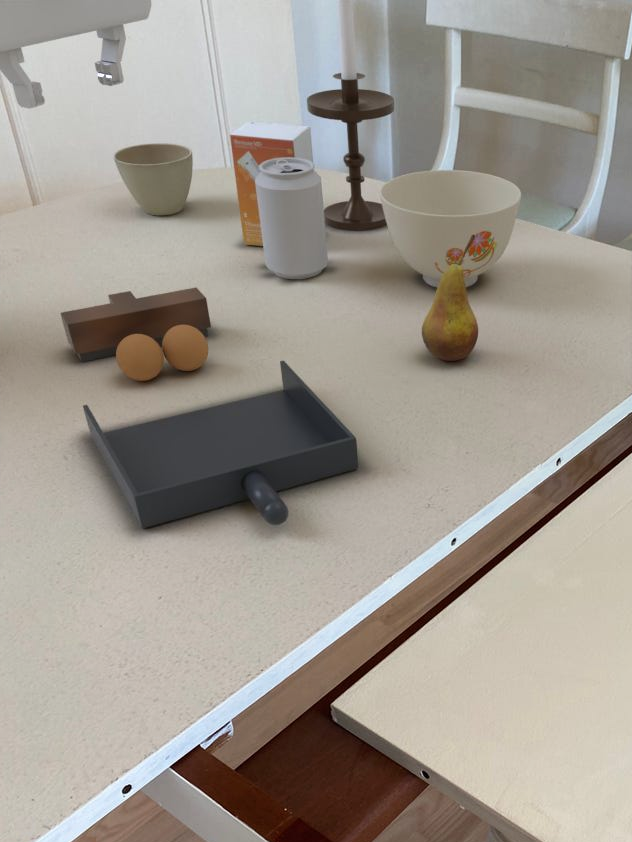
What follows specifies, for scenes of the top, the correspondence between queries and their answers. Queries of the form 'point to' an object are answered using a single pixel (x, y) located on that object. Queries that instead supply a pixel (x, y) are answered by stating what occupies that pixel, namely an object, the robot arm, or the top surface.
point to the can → (291, 217)
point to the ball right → (185, 347)
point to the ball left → (139, 357)
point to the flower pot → (157, 175)
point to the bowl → (450, 220)
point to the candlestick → (351, 127)
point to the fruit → (451, 317)
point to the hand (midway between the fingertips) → (73, 94)
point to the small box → (253, 149)
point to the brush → (132, 320)
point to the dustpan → (227, 454)
